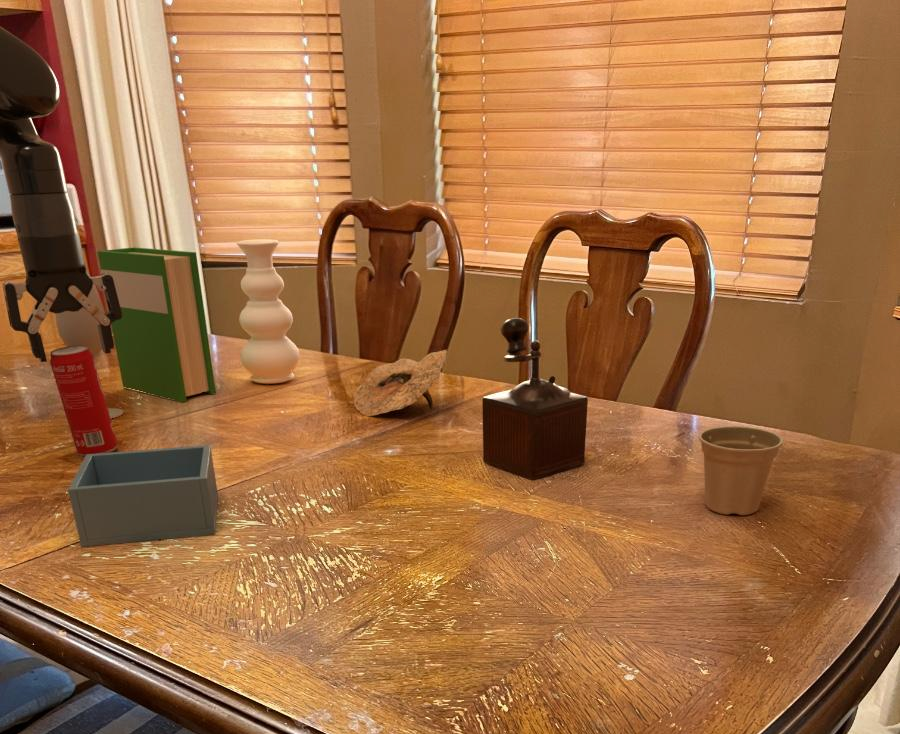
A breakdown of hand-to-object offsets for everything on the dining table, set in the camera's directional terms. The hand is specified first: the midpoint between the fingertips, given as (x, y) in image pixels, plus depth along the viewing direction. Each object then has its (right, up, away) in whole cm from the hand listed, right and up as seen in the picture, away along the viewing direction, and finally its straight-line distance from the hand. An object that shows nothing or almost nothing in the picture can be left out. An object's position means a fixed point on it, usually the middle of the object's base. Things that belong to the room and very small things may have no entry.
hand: (75, 356), depth 120 cm
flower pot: (+86, -23, -17) cm, 91 cm away
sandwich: (+44, -2, +25) cm, 50 cm away
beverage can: (0, -12, +7) cm, 14 cm away
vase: (+19, +8, +44) cm, 49 cm away
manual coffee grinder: (+63, -14, +1) cm, 64 cm away
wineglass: (-6, -3, +24) cm, 25 cm away
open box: (+17, -25, -18) cm, 35 cm away
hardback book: (+1, +4, +38) cm, 39 cm away
